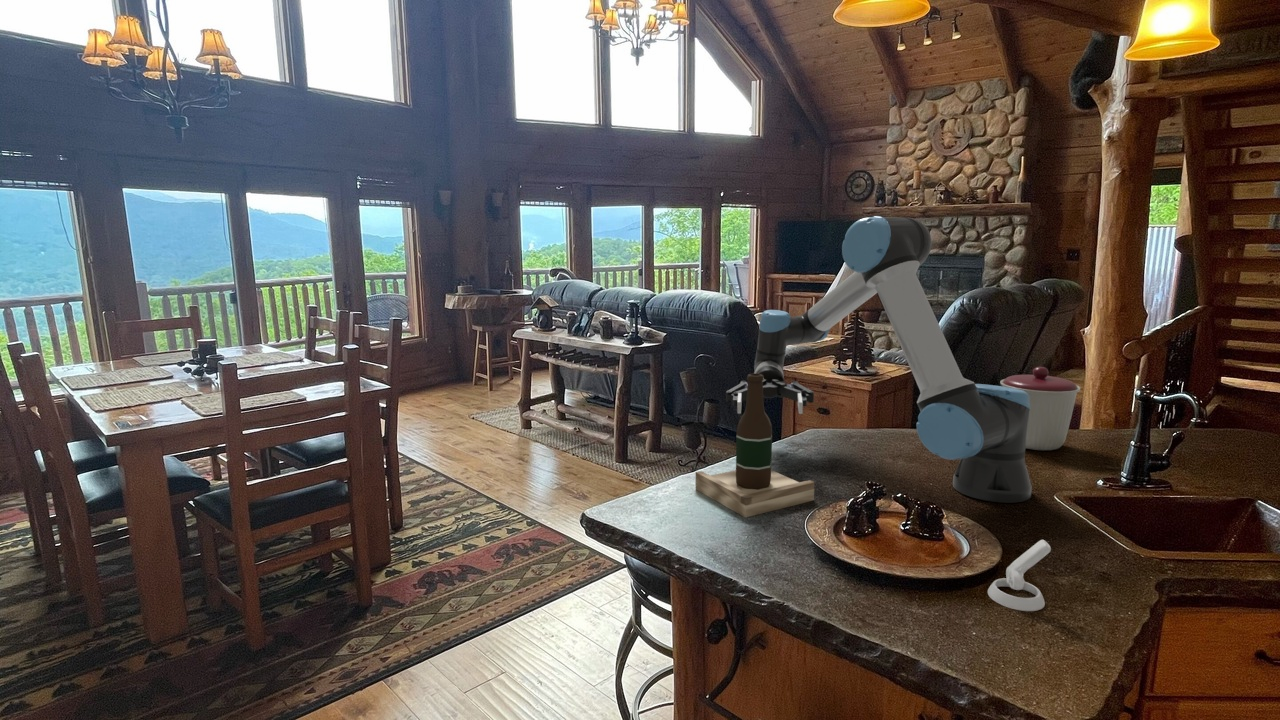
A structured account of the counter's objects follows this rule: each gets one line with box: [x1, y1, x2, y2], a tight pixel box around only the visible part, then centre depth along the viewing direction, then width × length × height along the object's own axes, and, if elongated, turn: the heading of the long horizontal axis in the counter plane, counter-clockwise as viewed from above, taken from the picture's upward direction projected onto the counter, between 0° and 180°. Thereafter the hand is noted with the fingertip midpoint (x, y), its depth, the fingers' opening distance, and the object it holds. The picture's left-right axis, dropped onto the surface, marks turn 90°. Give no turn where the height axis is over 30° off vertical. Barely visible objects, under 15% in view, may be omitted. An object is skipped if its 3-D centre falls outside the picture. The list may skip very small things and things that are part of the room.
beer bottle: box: [735, 372, 773, 490], centre depth 144 cm, size 8×8×24 cm
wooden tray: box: [695, 469, 815, 518], centre depth 146 cm, size 18×18×4 cm
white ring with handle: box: [987, 539, 1052, 612], centre depth 102 cm, size 8×12×7 cm
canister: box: [999, 366, 1082, 451], centre depth 177 cm, size 18×18×21 cm
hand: (769, 408), depth 151 cm, fingers open, 13 cm apart
